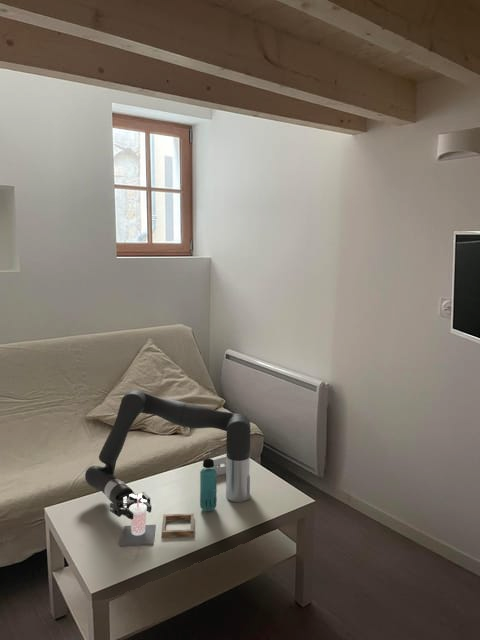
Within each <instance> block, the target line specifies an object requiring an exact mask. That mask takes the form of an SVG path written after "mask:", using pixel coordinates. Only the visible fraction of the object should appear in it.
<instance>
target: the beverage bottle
mask: <svg viewBox="0 0 480 640" xmlns="http://www.w3.org/2000/svg"><path fill="white" fill-rule="evenodd" d="M213 466H214V461H213V460H212V458H206V459H203V461H202V467H203V468H201V470H200V471H199V476H200V477H199V478H200V480H199V483H200V484H199V485H200V489H199V495H200V496H199V507H200V508H201V510H203V511H206V512H207V511H213V510H215V509H216V508H217V502H218V498H217V493H218V492H217V491H218V490H217V486H218V483H217V481H218V480H217V478H218V476H216V473H217V471H216V470H215V469H214V468H213Z"/></svg>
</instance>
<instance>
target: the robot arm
mask: <svg viewBox="0 0 480 640" xmlns="http://www.w3.org/2000/svg"><path fill="white" fill-rule="evenodd" d="M140 414H148V415H152V416H157V417H159V418H161V419H163V420H165V421H167V422H169V423H171V424H173V425H176V426H180V427H184V428H189V429H211V428H213V429H216V430H221V431H225V432H226V439H225V440H226V441H225V442H226V446H225V447H226V450H225V451H226V456H227V459H226V473H225V474H226V476H225V497H226V499H227V500H228V501H231V502H234V503H242V502H245V501H249V500H251V499H250V497H251V496H250V495H251V476H250V475H251V474H250V470H251V469H250V465H251V463H250V461H251V459H250V458H251V434H252V433H251V421H250V420H249V418H248V417H247V416H245V415H244V414H241V413H236V412H229V411H228V412H227V411H221V410H217V409H212V408H210V407H206V406H201V405H198V404H194V403H190V402H185V401H181V400H175V399H169V398H164V397H158V396H156V395H154V394H151V393H148V392H144V391H142V390H138V389H133V390H130V391H128V392H127V393H126V394H124V395H123V397H121V401H120V405H119V409H118V412H117V415H116V418H115V421H114V424H113V426H112V429H111V430H110V432H109V434H108V436H107V438H106V440H105V442H104V444H103V446H102V448H101V450H100V452H99V455H98V460H99V461H100V462H101V463H102V464H104V466H101V465H91V466H90V467H87V469H86V471H85V473H84V474H85V475H84V479H85V481H86V483H87V484H88V485H89V486H90V487H92V488H94V489H96V490H99V491H100V492H102V493H103V494H104V495H105V496H106V498H107V499H108V500H109V501H110V503H109V512H111V513H112V514H114V515H115V516H117V517H122V516H123V517H126V518H127V519H131V520H132V519H133V513H132V512H131V511H130V510H129V507H130V506H131V505H132V504H135V503H137V494H138V493H135V492H134V491H133V489H131V488H130V487H129V485H127V484H126V483H125V482H124V481H122V480H120V479H119V478H118V477H116V476H115V469H116V465H117V461H118V459H119V456H120V454H121V452H122V450H123V447H124V445H125V442H126V439H127V437H128V434H129V432H130V429H131V427H132V426H133V424H134V422H135V421H136V419H137V418H138V416H139V415H140ZM138 502H139V503H143V504H146V506H147V510H146V512H148V513H152V510H153V509H152V505H151V497H150V496H149V495H148V494H147V493H146V492H145V491H141V493H140V494H138ZM131 520H130V521H131Z"/></svg>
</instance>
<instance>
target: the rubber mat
mask: <svg viewBox="0 0 480 640" xmlns="http://www.w3.org/2000/svg"><path fill="white" fill-rule="evenodd" d="M156 527H157V525H156V524H145V532H144V534H142V535H138V536H137V535H133V534H132V531H131V525H124V526H123V531H122V534H121V539H120V542H119V547H136V546H137V547H139V546H154V542H155V534H156Z"/></svg>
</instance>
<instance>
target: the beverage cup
mask: <svg viewBox="0 0 480 640" xmlns="http://www.w3.org/2000/svg"><path fill="white" fill-rule="evenodd" d="M136 494H137V503H135V504H132V505H131V506H130V507H129V510H130V511H131V512H132V513H133V519H132V520H131V519H130V526H131V531H132V534H133V535H137V536H138V535H142V534H144V532H145V525H146V520H147V511H146V510H147V506H146V504H143V502H142V503H139V502H138V495H139V493H136Z"/></svg>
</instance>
